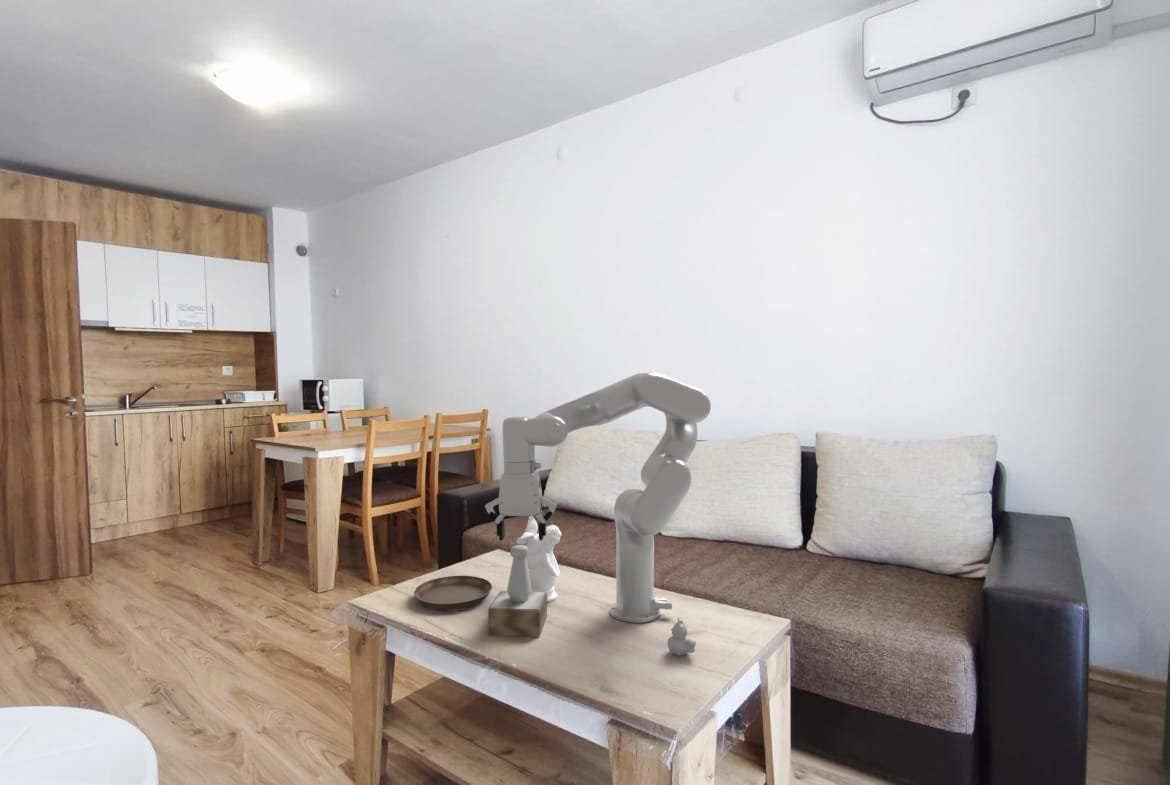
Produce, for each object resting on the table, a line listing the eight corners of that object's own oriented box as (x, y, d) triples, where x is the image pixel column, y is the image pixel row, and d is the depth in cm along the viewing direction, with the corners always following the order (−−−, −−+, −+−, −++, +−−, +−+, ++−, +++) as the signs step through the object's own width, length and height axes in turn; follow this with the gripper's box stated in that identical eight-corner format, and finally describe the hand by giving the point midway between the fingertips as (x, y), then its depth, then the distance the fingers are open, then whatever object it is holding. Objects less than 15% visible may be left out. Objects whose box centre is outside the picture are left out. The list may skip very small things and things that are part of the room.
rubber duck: (674, 646, 132) (674, 610, 132) (701, 654, 128) (701, 618, 128) (661, 654, 128) (662, 618, 128) (689, 663, 124) (689, 625, 124)
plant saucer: (460, 620, 147) (460, 607, 147) (397, 606, 156) (397, 593, 156) (506, 594, 165) (506, 582, 165) (447, 582, 174) (447, 571, 174)
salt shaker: (502, 599, 143) (502, 546, 143) (521, 593, 147) (521, 541, 147) (517, 606, 139) (517, 550, 139) (536, 599, 143) (536, 546, 143)
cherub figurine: (566, 600, 160) (567, 519, 160) (528, 611, 153) (529, 526, 152) (540, 587, 170) (541, 511, 169) (503, 597, 162) (503, 517, 161)
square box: (546, 616, 149) (547, 591, 148) (539, 637, 137) (539, 610, 137) (499, 615, 150) (499, 590, 149) (488, 635, 138) (488, 608, 137)
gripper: (557, 465, 146) (559, 534, 146) (488, 466, 147) (490, 535, 147) (553, 470, 138) (555, 543, 139) (480, 471, 140) (482, 543, 140)
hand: (521, 538), depth 143 cm, fingers open, 9 cm apart
